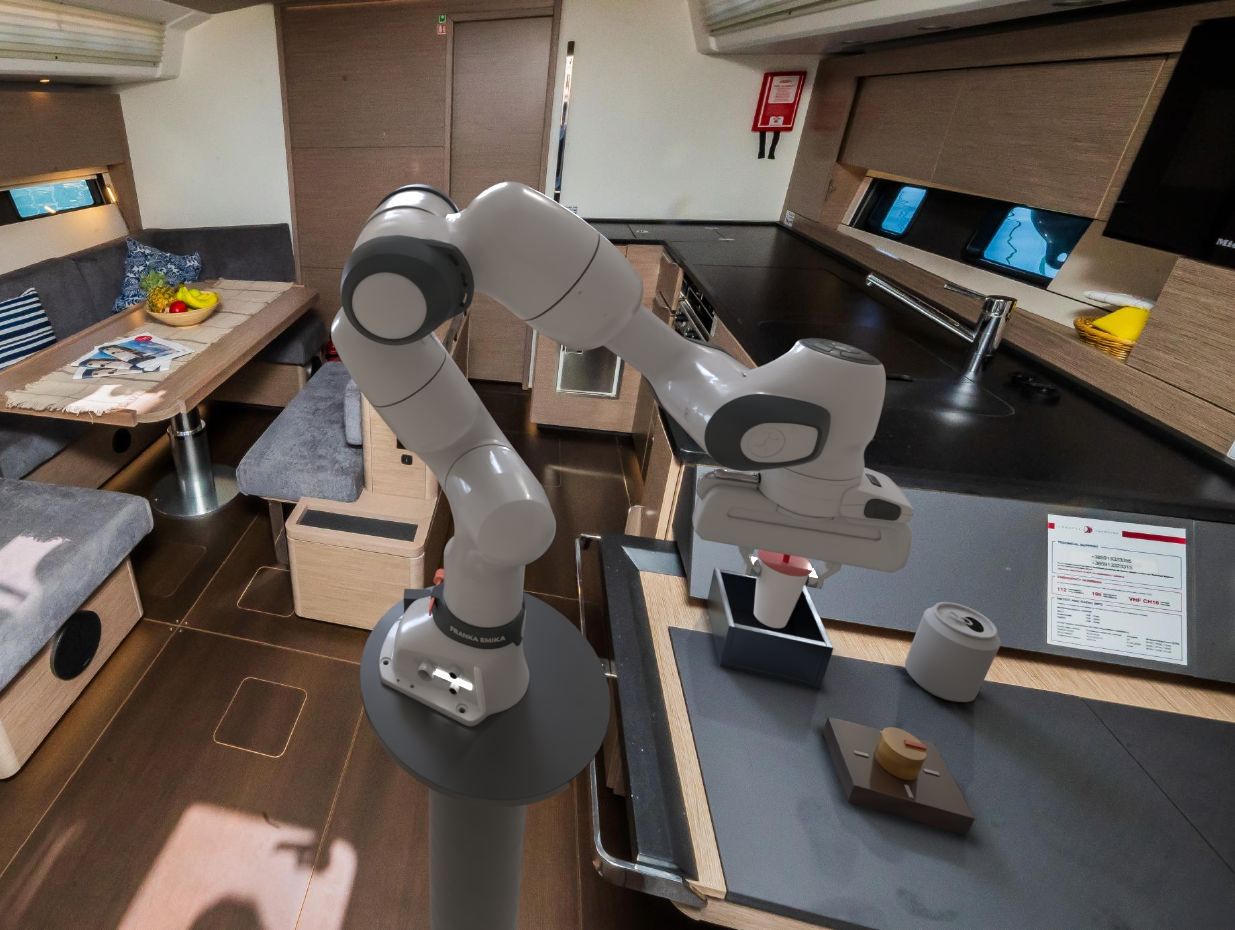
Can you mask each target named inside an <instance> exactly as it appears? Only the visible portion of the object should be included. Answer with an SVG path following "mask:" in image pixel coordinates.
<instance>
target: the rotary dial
mask: <svg viewBox="0 0 1235 930" xmlns="http://www.w3.org/2000/svg"><path fill="white" fill-rule="evenodd" d="M882 731H883V729H881V728H877V727H872V726H868V725H864V724H859V723H855V722H853V721H852V722H851V721H847V720H844V719H840V718H836V717H831V716H827V718H826V720H825V724H824V727H823V730H822V735H823V738H824V740H825V742H826V746H827V749H828V751H829V753H830V754H829V755H830V756H831V759H832V762H833V765H834V767H835V771H836V773H837V776H838V779H839V782H840V783H841V786H842V790H843V792H844V795H845V798H846V800H847V802H848V803H850V804H855V805H858V806H861V807H864V808H868V809H871V810H875V811H878V812H881V813H885V814H889V815H892V816H893V815H894V816H897V817H900V818H903V819H907V820H910V821H913V822H916V823H917V822H918V823H921V824H924V825H927V826H930V827H934V828H938V829H942V830H944V831H949V832H952V833H956V834H959V835H962V836H968V833H969V832H970V830H971V828H972V826H973V824H974V822H975V821H976V818H975V816H974V814H973V812H972V810H971V808H970V806H969V805H968V802H967V801H966V800H965V796H964V795H963V794H962V791H961V789H960V788H959V786H958V784H957V782H956V781H955V778H954V777H953V775H952V773H951V771H950V769H949V767H948V766H947V764H946V762H945V760H944V758H943V756H942V754H941V753H940V751H939V749H938V747H937V745H936V743H935V742H932V741H929V740H924V739H920V738H917V739H918V740H919V741H920V742H921V743H922V744H924V745H925V746H926V748H927V749H926V752H927V757H926V759H925V761H924V763H923V765H922V768H921V770H920V772H919V774H918V777H917V778H916V779H914V780H904V779H901V778H898V777H896V776H894V775H892V774H891V773H889V772H888V771H886V770H885V769H884V768H883V767H882V766H881V765H880V764H879V763H878V761H877V760H876V758H875V755H874V751H875V748H876V746H877V743H878V741H879V738H880V736H881V733H882Z"/></svg>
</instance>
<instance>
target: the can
mask: <svg viewBox="0 0 1235 930" xmlns="http://www.w3.org/2000/svg"><path fill="white" fill-rule="evenodd" d="M922 614H923V615H922V617H921V619H920V622H919V625H918V627H917V630H916V632H915V635H914V637H913V639H912V642H911V645H910V647H909V650H908V652H907V655H906V658H905V660H904V667H905V670H906V672H907V674H909V676H910V677H911V678H912V679H913V680H914V681H915V683H916V684H917V685H918V686H920V688H922V689H924V690H925V691H926V692H928V693H930V694H931V695H933V696H936V697H938V698H940V699H942V700H946V701H950V702H958V703H968V702H972V701H974V700H975V699H976V698H977V696H978V694H979V693H980V690H981V688H982V685H983V683H984V681H985V679H986V677H987V674H988V672H989V670H990V668H991V666H992V664H993V663H994V660H995V658H996V656H997V653H998V651H999V650H1000V647H1001V644H1002V642H1001V638H1000V636H999V635H998V634H999V633H998V631H999V630H998V628H997V627H996V624H995V623H994V622H992V621H991V620H990V619H989V618H988V616H985V615H984V614H982V613H981V612H979V611H977V610H975V609H973V608H970V607H968V606H966V605H964V604H960V603H956V602H950V601H940V602H937V603H935V604H934V605H933V606H931V607H928V608H926V610H924V612H923V613H922Z"/></svg>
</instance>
